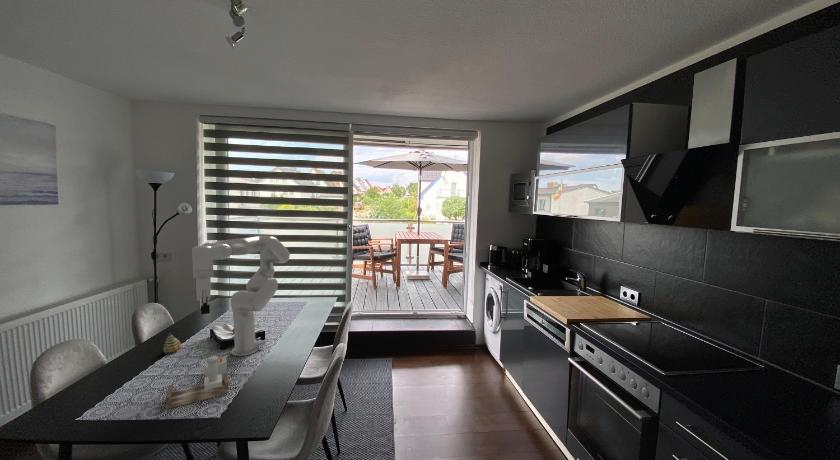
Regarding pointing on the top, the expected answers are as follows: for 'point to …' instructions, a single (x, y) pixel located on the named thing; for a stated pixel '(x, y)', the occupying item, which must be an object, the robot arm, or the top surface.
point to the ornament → (171, 345)
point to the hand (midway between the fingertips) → (205, 313)
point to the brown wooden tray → (194, 394)
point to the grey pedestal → (212, 374)
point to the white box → (218, 367)
